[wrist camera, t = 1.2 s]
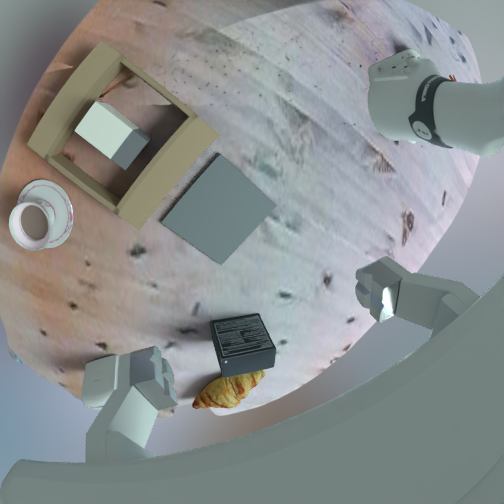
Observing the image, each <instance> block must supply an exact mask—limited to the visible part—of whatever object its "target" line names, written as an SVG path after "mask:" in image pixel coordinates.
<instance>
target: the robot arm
mask: <svg viewBox="0 0 504 504" xmlns="http://www.w3.org/2000/svg"><path fill="white" fill-rule="evenodd" d="M378 69H379V71H378ZM368 74H369V80H370V87H369V92H368V108H369V113H370V116H371V119H372V121H373V123H374V125H375V127H376V129H377V130H378V131H379V132H380V133H381V134H382V135H383V136H384V137H386V138H387V139H390V140H394V141H399V140H405V141H407V142H409V143H416V142H423V143H431V144H434V145H438V146H441V147H443V148H458V149H461V150H464V151H467V152H470V153H473V154H476V155H479V156H482V157H491V156H493V155H495V154H496V153H497V152H498V151H499V150H500V149H501V148H502V146H503V144H504V76H503V77H502V78H501V79H499V80H497V81H495V82H492V83H487V84H476V83H463V82H457V81H456V79H455V77H454V75H453V78H454V79H453V78H452V77H451V75H449V77H450V79H451V80H449V79H447V78H444V77H443V75H442V73H441V71H440V70H439V68H438V67H437V66H436V65H435V63H434V62H432V61H431V60H429V59H423V58H422V57H421V56H420V55H419V54H418V53H417V52H416V51H415V50H413V49H406V50H404V51H402V52H399V53H397V54H395V55H393V56H390V57H388V58H386V59H384V60H382V61H380V62H377V63H375V64H373V65H371V66H370V67H369V69H368ZM356 279H357V280H358V283H357V285H356V287H355V290H356V296H357V299H358V301H359V302H360V304H361V305H362V306H363V307H365V308H368V309H370V314H371V315H372V316H373V317H374V318H375V319H376V320H377V321H378V322H379V323H381V322H382V321H384V320H386V319H388V318H390V317H392V316H394V315H395V316H397V317H400V318H402V319H405V320H408V321H410V322H413V323H416V324H418V325H421V326H423V327H426V328H428V329H431V333H430V336H429V340H428V341H427V342H426V343H425V344H423V345H422V346H420V347H419V348H417V349H416V350H415V351H414V352H412V353H410V354H409V355H407V356H406V357H405V358H403V359H401V360H400V361H398V362H397V363H395V364H394V365H392V366H391V367H389V368H387V369H386V370H384V371H383V372H381V373H379V374H378V375H376V376H374V377H373V378H371V379H369V380H367V381H366V382H364V383H362V384H361V385H359V386H357V387H355V388H353V389H351V390H350V391H348V392H346V393H344V394H342V395H340V396H338V397H336V398H334V399H332V400H330V401H328V402H326V403H324V404H322V405H319V406H317V407H315V408H313V409H311V410H309V411H306V412H304V413H302V414H300V415H297V416H295V417H292V418H290V419H288V420H285V421H282V422H280V423H277V424H275V425H272V426H269V427H267V428H264V429H261V430H258V431H255V432H252V433H250V434H246V435H243V436H240V437H237V438H233V439H230V440H227V441H223V442H220V443H216V444H213V445H208V446H204V447H201V448H196V449H192V450H187V451H182V452H177V453H172V454H167V455H161V456H155V455H154V454H152V453H150V452H149V451H147V450H146V449H144V448H145V445H146V442H147V440H148V437H149V435H150V432H151V430H152V427H153V424H154V422H155V419H156V417H157V414H158V412H159V411H158V410H161V409H165V408H169V407H172V406H176V405H178V402H177V395H176V390H175V389H174V388H173V387H172V385H173V383H174V382H175V381H174V375H173V372H172V369H171V367H170V365H169V363H168V361H167V360H166V359H164V358H162V357H161V351H160V350H159V349H158V347H157V346H152V347H149V348H145V349H141V350H138V351H134V352H131V353H127V354H123V355H120V357H119V363H118V380H117V389H115V390H114V391H113V392H112V394H111V395H110V397H109V398H108V400H107V401H106V403H105V405H104V406H103V408H102V409H101V411H100V412H99V414H98V416H97V417H96V419H95V421H94V422H93V424H92V425H91V427H90V429H89V430H88V432H87V433H86V463H65V462H44V461H33V460H25V459H22V460H18V461H17V462H16V463H15V464H14V466H13V467H12V468H11V469H10V471H9V473H8V474H7V476H6V477H5V479H4V480H3V482H2V485H1V489H0V504H504V273H503V275H502V276H501V277H500V278H499V279H498V280H497V281H496V282H495V283H494V284H493V285H492V286H491V287H490V288H489V289H488V290H487V291H486V292H485V293H484V294H483V295H482V296H481V297H480V296H478V295H477V294H476V293H475V292H473V291H472V290H471V289H470V288H468V287H467V286H465V285H464V284H463V283H461V282H457V281H453V280H448V279H443V278H438V277H433V276H428V275H423V274H418V273H413V274H411V273H410V272H409V271H407V270H406V269H405V268H403V267H402V266H401V265H399V264H398V263H396V262H395V261H394V260H392V259H391V258H390V257H387V256H385V257H383V258H381V259H379V260H377V261H375V262H373V263H371V264H368V265H366V266H364V267H362V268H360V269H358V270H357V271H356Z"/></svg>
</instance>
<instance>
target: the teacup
mask: <svg viewBox="0 0 504 504" xmlns="http://www.w3.org/2000/svg"><path fill="white" fill-rule="evenodd" d="M43 200H44V201H43ZM46 201H47V202H49V203H50V204H51V205H52V206H53V208H54V210H55V215H56V216H55V215H54V211H53V209H52V207H51V206H50V204H49V203H47V202H46ZM54 220H55V221H54ZM73 220H74V215H73V207H72V204H71V202H70V199H69V197H68V195H67V194H66V192H65V191H64V190H63V188H62V187H60V186H59V185H58V184H56V183H55V182H53V181H50V180H46V179H41V180H35V181H33V182H31V183H30V184H28V185H26V187H25V188H24V189H23V190H22V192H21V193H20V195H19V198H18V201H17V206H16V207H15V208H14V209H13V210H12V212H11V215H10V218H9V221H8V223H9V228H10V232H11V234H12V236H13V238H14V240H15V241H16V242H17V243H18V244H19V245H20V246H22V247H23V248H25V249H27V250H31V251H37V250H41V249H43V248H54V247H56V246H58V245H60V244H62V243H63V242H64V241H65V240H66V239H67V238H68V236H69V234H70V232H71V230H72V226H73Z"/></svg>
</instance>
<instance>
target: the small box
mask: <svg viewBox="0 0 504 504" xmlns="http://www.w3.org/2000/svg"><path fill="white" fill-rule="evenodd" d="M210 325H211V331H212V340H213V344H214V347H215V351H216V355H217V358H218V362H219V366H220V369H221V373H222V377H223V378H226V377H231V376H236V375H241V374H246V373H250V372H255V371H259V370H264V369H268V368H272V367H274V363H275V355H276V347H275V345H274V344H273V342H272V340H271V338H270V336H269V333H268V331H267V329H266V327H265V325H264V323H263V321H262V319H261V317H260V314H259V313H258V314H252V315H247V316H241V317H236V318H230V319H224V320H217V321H211V323H210Z"/></svg>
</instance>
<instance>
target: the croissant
mask: <svg viewBox="0 0 504 504" xmlns="http://www.w3.org/2000/svg"><path fill="white" fill-rule="evenodd" d="M264 376H265V372H264V371H263V370H259V371H255V372H250V373H246V374H241V375H236V376H231V377H226V378H223V377H222V376H221V377H220V378H217V379H215V380H214V381H212V382H211V383H209V384H208V385H207V387H206V388H205V389H204V390H203V391H202V392H201V393H200V394H198V395H197V396H196V398H195V400H194V402H193V404H192V406H193V407H194V408H195V409H198V408H200V407H202V408H209V407H215V408H218V407H221V408H222V407H223V408H233V407H236V406H237V405H239V403H240V402H241V399H243V398H245V397H246V396H247V395H248V393H249V390H251V389H252V388H253V387H255V386H256V385H257V384H258V382H259V380H260V379H262V378H263V377H264Z"/></svg>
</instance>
